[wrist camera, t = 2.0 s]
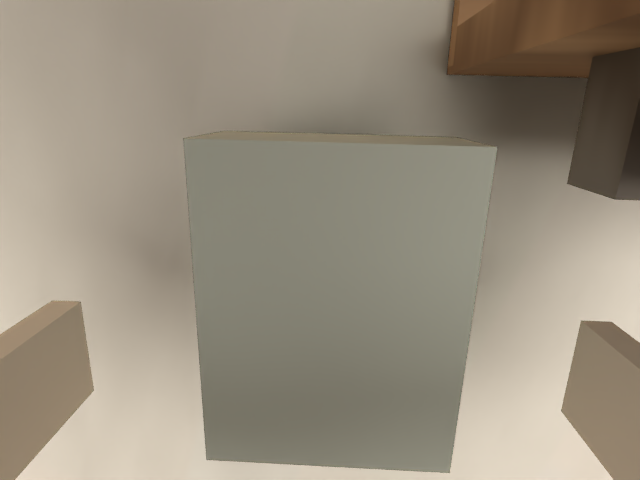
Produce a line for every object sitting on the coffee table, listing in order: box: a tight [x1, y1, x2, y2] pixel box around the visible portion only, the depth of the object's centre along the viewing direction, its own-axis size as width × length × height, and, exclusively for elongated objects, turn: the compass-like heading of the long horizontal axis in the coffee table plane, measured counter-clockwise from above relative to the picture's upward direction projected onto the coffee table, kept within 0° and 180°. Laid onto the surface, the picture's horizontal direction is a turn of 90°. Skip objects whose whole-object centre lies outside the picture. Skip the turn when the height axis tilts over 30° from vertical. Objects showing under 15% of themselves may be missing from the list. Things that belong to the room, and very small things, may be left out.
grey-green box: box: [183, 131, 497, 473], centre depth 14 cm, size 9×6×9 cm
